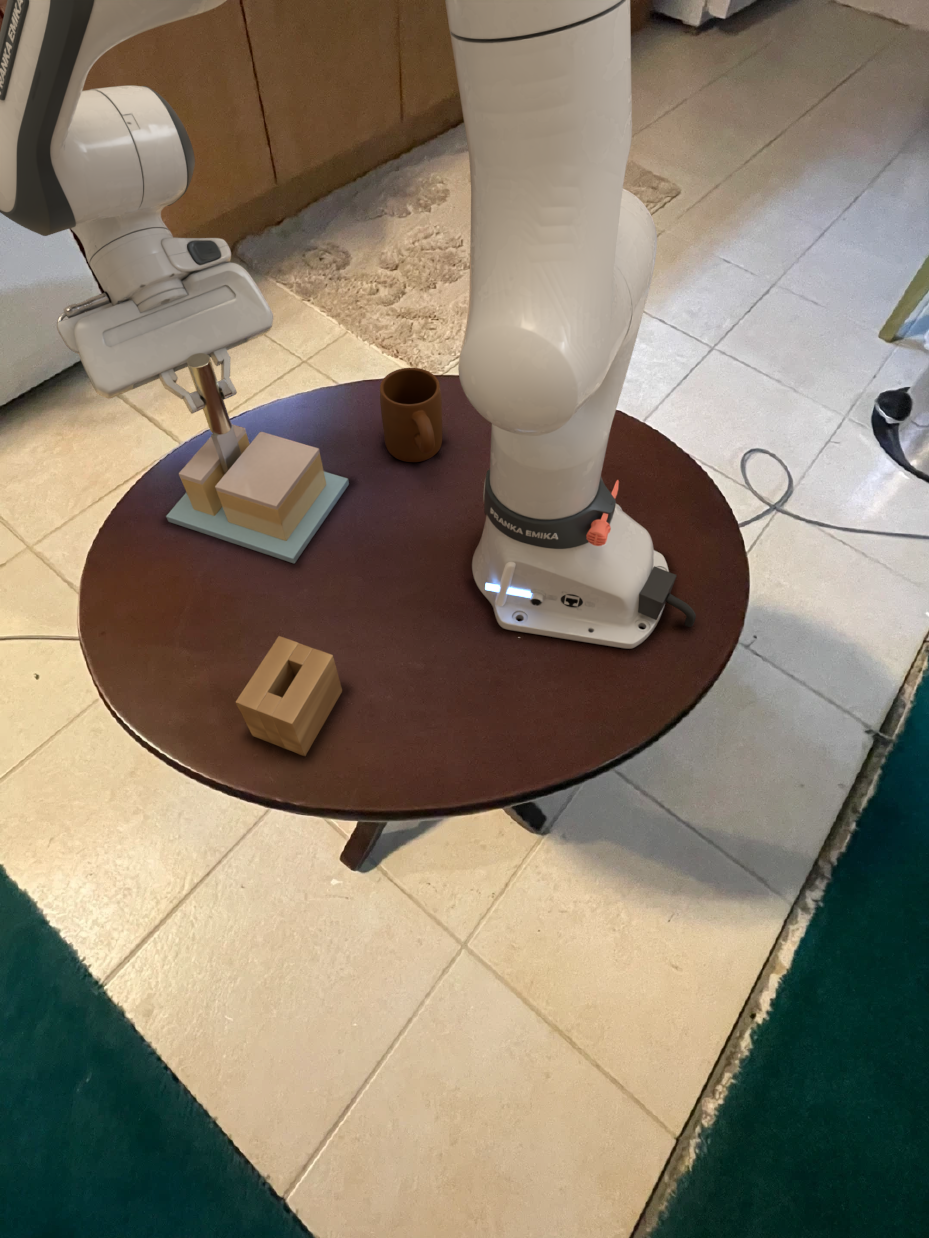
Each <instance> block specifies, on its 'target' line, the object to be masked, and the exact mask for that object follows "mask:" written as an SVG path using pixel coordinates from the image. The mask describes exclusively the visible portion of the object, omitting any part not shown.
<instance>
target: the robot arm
mask: <svg viewBox="0 0 929 1238" xmlns="http://www.w3.org/2000/svg"><path fill="white" fill-rule="evenodd" d="M227 1H228V0H6V4H5V9H4V14H3V18H2V23H1V26H0V214H2V215H3V216H4V217H6V218H7V219H9V220H10V221H12V222H14V223H15V224H17V225H19V226H21V227H23V228H25V229H27V230H29V231H31V232H33V233H36V234H37V235H40V236H43V237H48V236H51V235H54V234H57V233H61V232H63V231H67V230H69V229H70V230H72V232H73V233H74V234H75V235H76V236H77V238H78V239H79V241H80V243H81V244H82V247H83V248H84V253H85V258H86V261H87V262H88V265H89V266H90V268H91V270H92V272H93V274H94V275H95V277H96V279H97V281H98V283H99V284H100V286H101V288H102V290H103V291H104V292H103V293H99V294H97V295H94V296H90V297H89V298H88V299H86V300H83V301H81V302H78V303H72V304H69V305H66V307H64V308H63V312H62V313H61V314H59V316H58V318H57V320H56V330H57V332H58V334H59V336H60V338H61V339H62V342H64V344H65V346H66V347H67V349H69V350H70V351H71V352H73V353H75V354H78V356H79V359H80V362H81V364H82V367H83V369H84V371H85V373H86V375H87V378H88V380H89V382H90V383H91V385H92V388H93V389H94V391H95V393H96V394H97V395H98V396H100V397H102V398H106V399H108V400H110V399H113V398H115V397H118V396H120V395H124V394H125V393H128V392H130V391H132V390H135V389H138V388H140V387H142V386H145V385H147V384H150V383H152V382H154V381H157V380H159V381H160V382H161V384H162V386H163V387H164V389H165V390H167V391H168V392H169V393H171V394H172V395H174V396H176V397H177V398H179V399H180V400H182V401H183V402H184V404H185V406H186V407H187V410H188V411H189V413H190V414H191V415H192V414H195V413H197V412H200V411H201V410H203V409H204V407H205V405H204V402H203V401H202V400H201V399H200V395H199V393H198V392H197V391H196V390H195V391H193V392H189V391H188V390H186V389H185V388H184V387H182V386H181V385H180V384H178V383H177V381H178V379H179V378H178V375H177V374H176V372H179V371H181V370H183V369H185V368H188V365H187V359H188V358H189V357H190V356H191V355H193V354H197V353H204V354H207V355H208V356H209V357H210V359H211V361H212V362H213V363H214V366H215V367H218V366H220V380H217V381H218V384H219V387H220V391H221V394H222V397H223V400H224V401H225V400H226V399H229V398H231V397H234V396H236V395H237V393H238V392H237V389H236V387H235V384H234V382H233V381H232V379H231V378H230V377H231V356H230V354H229V350H231V349H234V348H236V347H239V346H242V345H244V344H246V343H249V342H251V341H254V340H256V339H258V338H261V337H263V336H265V335H267V334H269V332H270V331H271V329H273V328H272V327H273V324H274V317H275V316H274V313H273V311H272V308H271V306H270V304H269V303H268V301H267V299H266V298H265V296H264V294H263V292H262V291H261V289H260V287H259V286H258V284H257V283H256V282H255V280H254V279H253V277H252V276H251V275H250V273H249V272H248V270H246V269H245V268H244V267H243V266H242V265H240V264H239V263H236V262H233V261H231V259H232V252H231V248H230V246H229V244H228V242H227V241H226V240H225V239H223V238H219V237H206V238H205V237H174V236H173V233H172V232H171V230H170V228H168V226H167V225H166V224H165V222H164V220H163V218H162V211H163V210H164V209H165V208H166V207H169V206H172V205H174V204H176V202H178V201H179V200H180V199H181V198H182V197H183V196H184V195H185V194H186V192H187V190H188V188H189V187H190V185H191V182H192V179H193V176H194V171H195V166H196V157H195V152H194V147H193V145H192V141H191V139H190V136H189V134H188V131H187V129H186V127H185V125H184V123H183V121H182V120H181V119H180V117H179V115H178V113H177V112H176V111H175V109H174V108H173V107H172V105H170V103H169V102H168V101H167V100H166V99H165V98H164V97H163V96H162V95H161V94H160V93H158V92H157V91H155V90H154V89H152V88H151V87H149V86H147V85H141V86H140V85H117V86H108V87H99V88H98V87H97V88H90V89H87V90H84V86H85V84H86V80H87V78H88V75H89V72H90V70H91V69H92V67H93V66H94V64H95V63H96V62H97V61H98V60H99V59H100V58H101V57H102V56H103V55H104V54H105V53H107V52H108V51H110V50H111V49H113V48H114V47H116V46H117V45H119V44H121V43H123V42H124V41H127V40H129V39H131V38H133V37H135V36H137V35H139V34H142V33H144V32H147V31H150V30H152V29H156V28H158V27H161V26H164V25H168V24H170V23H174V22H178V21H181V20H185V19H187V18H190V17H194V16H197V15H201V14H203V13H206V12H209V11H211V10H214V9H216V8H217V7H220V6H221V5H223V4H224V3H225V2H227ZM444 2H445V9H446V15H447V22H448V28H449V34H450V41H451V47H452V53H453V54H452V55H453V59H454V67H455V72H456V78H457V85H458V91H459V98H460V105H461V111H462V117H463V124H464V130H465V138H466V143H467V144H466V145H467V150H468V160H469V162H468V163H469V176H470V240H469V241H470V243H469V244H470V245H469V284H468V285H469V289H468V290H469V291H468V307H467V308H468V309H467V317H466V324H465V330H464V335H463V340H462V344H461V350H460V353H459V357H458V377H459V382H460V385H461V389H462V391H463V393H464V395H465V397H466V399H467V401H468V402H469V403H470V404H471V406H472V407H473V408H474V410H476V412H477V413H478V414H479V415H480V416H482V417H483V418H484V419H485V420H486V421H487V422H488V423H490V424H491V427H490V428H491V429H490V431H491V432H490V457H489V458H490V459H489V461H490V462H489V468H488V470H487V471H486V474H485V478H484V485H483V498H482V500H483V504H484V505H483V509H484V510H483V513H484V515H485V520H484V526H483V530H482V534H481V537H480V540H479V542H478V544H477V545H476V546H477V547H476V548H475V550H474V552H473V556H472V560H471V571H472V575H473V579H474V582H475V584H476V586H477V588H478V589H479V591H480V593H481V594H482V595H483V596H484V597H485V598H486V599H487V601H488V602H489V604H491V606H492V608H493V612H494V617H495V619H496V622H497V623H498V625H499V627H501V628H502V629H504V630H507V631H513V632H520V633H526V634H533V635H538V636H546V637H550V638H551V637H552V638H557V639H564V640H568V641H569V640H570V641H575V642H580V643H581V642H582V643H588V644H594V645H600V646H606V647H607V646H608V647H614V648H621V649H629V650H630V649H635V648H636V647H638V646H640V645H641V644H642V643H644V642H645V640H647V639H648V638H649V636H650V635H651V634H652V633H653V632H654V630H655V628H656V627H657V625H658V623H659V621H660V619H661V617H662V614H663V611H664V609H665V607H666V606H665V605H666V603H667V604H669V605H670V606H673V607H674V608H675V609H678V610H679V611H681V612H682V613H683V614H684V615H685V620H684V625H685V627H687V628H691V627H693V626H694V624H695V621H696V619H697V616H696V612H695V611H694V609H693V608H692V607H691V606H690V605H689V604H688V603H686V602H685V601H684V600H681V598H679V597H677V596H675V595H673V594H671V592H672V590H673V587H674V584H675V582H676V578H677V574H674V573H673V572H670V570H669V567H668V563H667V561H666V558H665V557H664V555H663V554H662V553H660V552H658V551H657V550H655V549H654V544H653V543H654V542H653V539H652V536H651V534H650V533H649V531H648V530H647V529H646V528H645V527H644V526H642V525H641V524H640V523H638V521H636V520H634V519H633V518H632V517H631V516H630V515H628V514H627V513H626V512H625V511H623V509H622V507H621V505H619V504H618V503H617V501H616V498H617V496H618V492H619V486H620V485H619V484H620V481H619V479H617V480H616V481H615V483H614V486H613V488H612V491H610V490H609V489H608V487H607V486H606V484H605V482H604V481H603V477H602V471H603V468H604V467H603V466H604V462H605V457H606V452H607V447H608V443H609V438H610V433H611V428H612V426H613V421H614V418H615V415H616V411H617V408H618V404H619V401H620V397H621V394H622V391H623V388H624V384H625V381H626V378H627V374H628V370H629V367H630V363H631V360H632V356H633V352H634V349H635V345H636V341H637V339H638V334H639V330H640V327H641V323H642V320H643V316H644V311H645V309H646V304H647V300H648V296H649V292H650V289H651V284H652V281H653V275H654V269H655V264H656V258H657V248H658V233H657V228H656V224H655V221H654V219H653V216H652V214H651V213H650V211H649V209H648V207H647V206H646V205H645V203H643V201H642V200H641V199H640V198H638V196H636V195H635V194H634V193H633V192H630V190H628V189H625V188H624V183H625V177H626V176H625V175H626V170H627V165H628V161H629V156H630V151H631V146H632V140H633V101H632V99H633V97H632V96H633V95H632V90H633V89H632V35H631V33H632V32H631V27H632V26H631V0H444ZM66 317H67V318H66ZM65 318H66V319H65ZM519 619H520V621H518V620H519ZM642 628H643V629H642Z"/></svg>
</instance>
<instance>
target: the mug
mask: <svg viewBox="0 0 929 1238" xmlns="http://www.w3.org/2000/svg"><path fill="white" fill-rule="evenodd" d="M379 402H380V403H379V404H380V405H379V406H380V414H381V423H382V429H383V430H382V431H383V437H384V443H385V447H386V450H387V451H388V453H389V454H390V455H391V456H392V457H394V458H395V459H396V460H399V461H401V462H406V463H419V462H424V461H427V460H429V459H431V458H433V457H434V456H435V455H436V454H437V453H438V452H439V451H440V449H441V447H442V444H443V405H442V403H443V402H442V392H441V384H440V381H439V379H438V378H437V377H436V375H435V374H434V373H432V372H430V371H429V370H426V369H424V368H419V367H403V368H398V369H396V370H393V371H391V372H390V373H388V374H386V375H385V376H384V377H383V379H382V380H381V382H380V385H379Z"/></svg>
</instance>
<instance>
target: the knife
mask: <svg viewBox="0 0 929 1238" xmlns="http://www.w3.org/2000/svg"><path fill="white" fill-rule="evenodd" d="M212 362H213V361H212V358H211V357H209V356H208V355H207V354H204V353H197V354H193V355H191V356H190V357H189V358H188V359H187V365H188V367H187V368H188V371H189V374H190V377H191V379H192V382H193V386H194V388H195V391H197V392H198V393H199V395H200V399H201V400H202V401H203V402H204V405H205V407H204V409H202V411H203V414H204V417H205V420H206V422H207V426H208V428H209V431H210V432H211V435H210V437H212V440H213V443H214V446H215V448H216V451H217V454H218V457H219V460H220V463H221V465H222V468H223V471H224V474H226V473H227V471H228V470H229V469H230V468H231V467H232V465H233V464H234V463H235V462H236V460H237V459H238V458H239V457H240V456H241V451H240V448H239V445H238V441H237V438H236V435H235V432H234V429H233V426H232V424H233V423H232V420H231V419H230V416H229V412H228V409H227V407H226V404H225V399H224V400H223V397H222V394H221V391H220V387H219V384H218V381H219V380H218V378H217V375H216V372H215V369H214V366H213V363H212Z"/></svg>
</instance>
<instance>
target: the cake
mask: <svg viewBox="0 0 929 1238" xmlns="http://www.w3.org/2000/svg"><path fill="white" fill-rule="evenodd" d="M249 443H250V445H249V446H248V447H247V448H246V450H245V451H244V452H243V453H242V454H241V456H240V457H239V458H238V459H237V460H236V462H235V463H234V464H233V465H232V467H231V468H230V469H229V470H228V471H227V473H226V474H225V475H224V476H223V477H222V479H221V480H220V481H219V482H218V484H217V485H216V486H215V488H216V490H217V493H218V496H219V499H220V501H221V504H222V507H221V509H220V510H219V511H218V512H217V514H216V515H215V516H212V515H209V514H206V513H203V512H200V511H197V510H194V509H193V507H192V504H191V502H190V499H189V497H188V495H187V492H186V491H185V493H184V494H183V495H182V496H181V498H180V499H179V500H178V501H177V502H176V504H175V505H174V506H173V507H172V508H171V509H170V511H169V512H168V513H167V514H166V515H165V519H166V520H167V522H169V523H172V524H174V525H178V526H181V527H183V528H186V529H188V530H192V531H196V532H198V533H201V534H204V535H207V536H210V537H213V538H215V539H219V540H222V541H224V542H228V543H231V544H234V545H236V546H240V547H243V548H246V549H249V550H253V551H255V552H258V553H261V554H264V555H267V556H270V557H273V558H276V559H279V560H282V561H285V562H287V563H291V564H296V563H297V561H298V559H299V558H300V557H301V555H302V554H303V552H304V550H305V549H306V548H307V546H308V545H309V544H310V542H311V540H312V539H313V537H314V536H315V534H316V533H317V532H318V530H319V529H320V527H321V526H322V525H323V523H324V521H325V520H326V518H327V517H328V516H329V514H330V513H331V511H332V510H333V508H334V507H335V506H336V504H337V502H338V501H339V500H340V498H341V497H342V495H344V492H345V491H346V489H347V488H348V486H349V485H350V483H349V482H350V481H349V478H347V477H344V476H340V475H337V474H335V473H331V472H328V471H325V470H324V466H323V461H322V456H321V453H320V448H319V447H315V446H311V445H309V444H304V443H301V442H298V441H294V440H291V439H289V438H285V437H281V436H277V435H274V434H271V433H268V432H264V431H259V433H258V434H257V435H256V436H255V437H254V438H253V440H252V441H251V442H249Z"/></svg>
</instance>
